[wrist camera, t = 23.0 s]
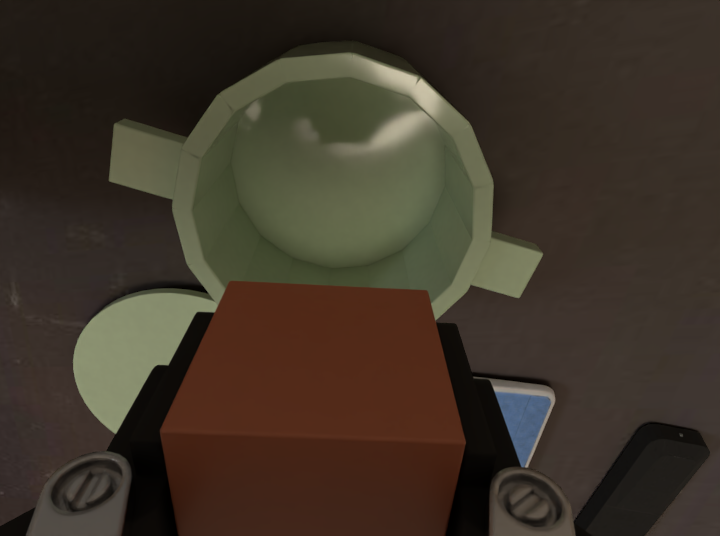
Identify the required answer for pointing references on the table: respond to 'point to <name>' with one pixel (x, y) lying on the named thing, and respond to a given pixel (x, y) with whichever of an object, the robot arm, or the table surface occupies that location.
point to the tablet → (524, 413)
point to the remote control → (644, 481)
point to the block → (315, 417)
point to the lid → (131, 347)
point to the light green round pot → (330, 181)
